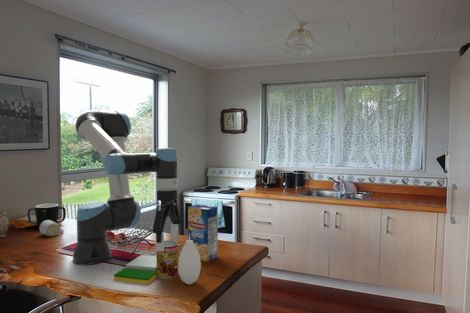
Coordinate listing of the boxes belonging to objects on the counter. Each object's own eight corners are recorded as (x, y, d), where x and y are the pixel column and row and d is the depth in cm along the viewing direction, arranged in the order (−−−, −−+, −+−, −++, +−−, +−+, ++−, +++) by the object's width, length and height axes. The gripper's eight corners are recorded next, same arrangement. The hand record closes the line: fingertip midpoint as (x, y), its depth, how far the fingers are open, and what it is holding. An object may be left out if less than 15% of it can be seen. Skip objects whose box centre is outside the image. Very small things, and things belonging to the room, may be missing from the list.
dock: (126, 272, 135) (126, 265, 135) (141, 262, 147) (140, 254, 147) (155, 275, 133) (155, 267, 132) (168, 264, 144) (168, 257, 144)
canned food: (171, 280, 129) (170, 247, 128) (152, 276, 131) (152, 245, 131) (181, 272, 136) (181, 241, 135) (163, 269, 139) (163, 239, 138)
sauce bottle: (174, 285, 123) (174, 235, 123) (185, 277, 131) (185, 229, 130) (194, 289, 121) (194, 237, 120) (204, 280, 128) (204, 231, 127)
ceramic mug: (47, 238, 180) (47, 223, 180) (39, 235, 185) (39, 221, 184) (67, 234, 189) (67, 219, 188) (59, 231, 193) (59, 217, 193)
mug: (54, 221, 217) (53, 201, 216) (68, 225, 207) (68, 204, 207) (25, 226, 203) (25, 205, 203) (39, 230, 194) (39, 209, 193)
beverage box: (207, 261, 148) (207, 209, 146) (187, 256, 154) (187, 206, 153) (217, 257, 153) (217, 207, 152) (198, 252, 159) (198, 204, 158)
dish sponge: (147, 285, 125) (147, 278, 125) (113, 281, 128) (113, 274, 128) (157, 277, 132) (157, 271, 131) (123, 274, 135) (123, 267, 135)
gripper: (162, 194, 119) (163, 256, 120) (188, 185, 143) (188, 237, 144) (142, 193, 121) (142, 255, 121) (170, 185, 145) (171, 236, 146)
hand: (167, 245), depth 133 cm, fingers open, 13 cm apart
